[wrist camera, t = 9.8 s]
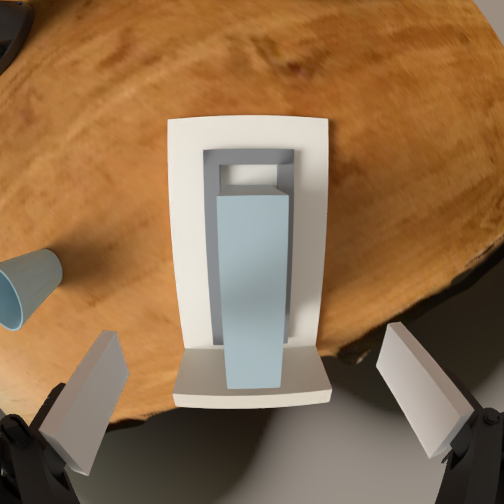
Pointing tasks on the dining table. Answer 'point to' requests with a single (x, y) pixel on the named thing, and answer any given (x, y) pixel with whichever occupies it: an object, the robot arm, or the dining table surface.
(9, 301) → the cup
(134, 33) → the dining table surface
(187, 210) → the track
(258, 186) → the light blue block
